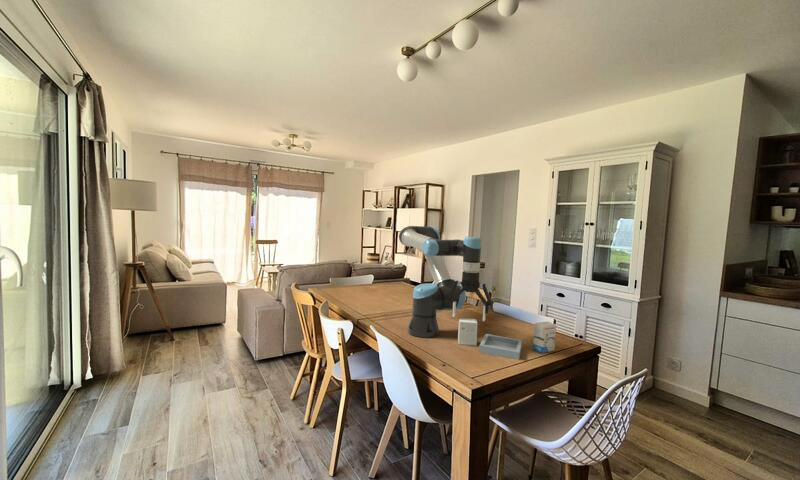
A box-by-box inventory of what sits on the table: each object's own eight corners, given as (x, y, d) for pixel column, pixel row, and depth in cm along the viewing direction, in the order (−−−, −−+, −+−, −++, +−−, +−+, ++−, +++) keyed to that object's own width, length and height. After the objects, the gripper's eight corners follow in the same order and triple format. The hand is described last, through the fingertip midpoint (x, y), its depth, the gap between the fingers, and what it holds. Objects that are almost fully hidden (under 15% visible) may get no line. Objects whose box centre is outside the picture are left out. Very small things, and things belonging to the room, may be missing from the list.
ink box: (541, 353, 144) (543, 326, 144) (532, 349, 149) (534, 323, 148) (555, 350, 148) (557, 324, 148) (545, 346, 153) (547, 321, 152)
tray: (479, 351, 143) (479, 345, 143) (485, 340, 158) (486, 333, 157) (518, 359, 137) (519, 352, 136) (521, 346, 151) (522, 340, 151)
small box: (475, 341, 155) (476, 318, 155) (476, 345, 150) (477, 322, 149) (457, 340, 156) (458, 317, 156) (458, 344, 151) (459, 321, 150)
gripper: (441, 269, 152) (439, 316, 154) (498, 275, 142) (495, 324, 144) (446, 268, 159) (444, 312, 160) (500, 273, 149) (498, 320, 150)
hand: (468, 318), depth 152 cm, fingers open, 13 cm apart
